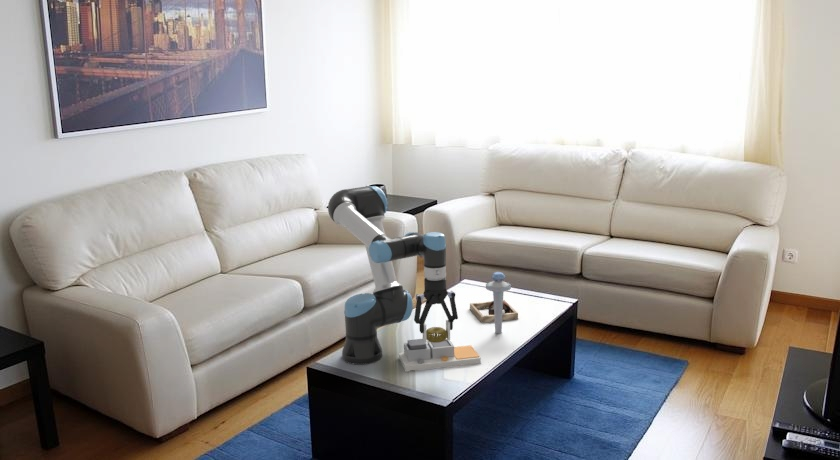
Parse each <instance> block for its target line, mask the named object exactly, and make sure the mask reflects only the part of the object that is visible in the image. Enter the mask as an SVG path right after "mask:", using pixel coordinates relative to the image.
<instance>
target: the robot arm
mask: <svg viewBox="0 0 840 460" xmlns="http://www.w3.org/2000/svg"><path fill="white" fill-rule="evenodd" d="M388 206H389V205H388V200H387V196H386V194H385V192H384V191H383V190H382V189H381V188H380V187H378V186H376V185H372V186H371V185H370V186H367V185H365V186H360V187H355V188H354V187H353V188H347V189H340V190H338V191H336V192H335V193H334V194H333V195H332V196H331V197H330V199H329V201H328V205H327V211H328V215H329V217H330V219H331V220H332V221H333V223H335V224H336V225H338V226H340V227H344V229H346V230H347V231H348V232H349V233H350V234H352V235H353V236H354V237H355V238H357V239H358V240H359V241H360V242H361V243H362V244H364V246H365V250H366V251H365V252H366V255H367V258H368V262H369V267H370V270H371V275H372V279H373V282H374V286H375V288H374V290H373V291H372V293H369V292H365V293H358V294H355V295H352V296H350V297H349V298H348V299H346V301H345V302H344V323H345V324H344V326H345V341H344V343H343V348H342V353H341V355H342V360H343V361H344V362H346V363H348V362H349V364H352V363H354V365H366V364H367V365H368V364H372V363H375V362H378V361H379V360H381V359H382V358H383V348H382V345H381V343H380V341H379V338H378V328H381V327H385V326H389V325H394V324H400V323H401V322H405V321H407V320H408V319H409V318H410V317H411V316H412V312H413V308H414V303H413V297H412V295H411V294H410V292H409V291H408V290H407V289H404V287H403V284H401V283H400V282H398V280H397V275H396V271H395V269H394V264H393V261H396V260H401V259H408V258H413V257H421V258H423V276H424V286H423V287H424V291H423V293H421V294H418V293H417V294H415V299H416V302H415V312H414V318H413V321H414V322H415V324H418V325H419V332H420V334H422V339H423V341H424V343H427V341H428V340H427V335H426V330H427V324H426V321H427V320H426V319H427V317H428V315H429V312H430V310H431V307H432V306H433V305H436V304H437V305H441V307H442V309H443V310H444V313H445V315H446V318H447V319H445V330H446V331H447V338H446V339H448V340H450V341H451V331H452V330H453V328H454V321H455V320H458V319H459V316H458V311H457V306H456V300H455V298H456V292H455V291H454V290H450V291H448V289H447V278H446V277H447V265H446V264H447V253H446V252H447V243H446V236H445V234H444V233H442V232H438V231H432V232H431V231H430V232H426V233H425V234H422V233H420V232H415V231H410V232H409V231H408V232H407V233H406V234H405V235H404V236H398V237H393V238H391V237H389V236H388V235H387V234H386V232H385V228H384V224H383V221H384V220H385V218H386V216H385V214H386V213H387V211H388ZM447 296H448V299H449V303H450V308H451V312H450V310H449V308H448V306H447V304H446V302H445V299H446V298H447ZM424 299H426V301H425V304H424V307H423V310H422V304H423V303H422V302H423V300H424ZM421 311H422V313H421ZM451 313H452V314H451Z"/></svg>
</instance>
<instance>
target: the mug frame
mask: <svg viewBox="0 0 840 460" xmlns="http://www.w3.org/2000/svg"><path fill="white" fill-rule="evenodd" d="M492 301H493V300H492ZM492 301H481V302H474V303H473V302H472V303H469V310H470V309H471V310H470V311H471V312H472V313H473V315H475V317H477V319H478V320H479V321H480V322H481V323H490V322H495V318H494V315H489V314H486V315H483V314H482V313H481V312H480V309H482V310H483V309H488V308H489V307H488V305H489V304H490V303H491V302H492ZM503 301H504V302H506V303H507V304H508V305H509V307H510V309H511V313H502V321H508V320H516V319H517V320H518V319H519V312H518V311H517V310H516V309H514V308H513V307H512V306H511V305H510V304H509V303H508V302H507V301H506V300H505V299H503ZM491 307H492V308H494V304H493V305H492V306H491Z"/></svg>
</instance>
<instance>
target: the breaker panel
mask: <svg viewBox="0 0 840 460" xmlns="http://www.w3.org/2000/svg"><path fill="white" fill-rule="evenodd" d="M444 341H447V343H448V344H449V345H450V346H445V347H436V348H434V347H433V345H432V344H431V342H429V341H428V340H427V343H426V349H417V350H410V349H409V348H408V342H403V352H398V360H400V361H399V362H400V364H401V365H402V368H403V369H404V368H405V369H404V371H405V370H406V371H405V372H411V371H410V370H415V371H421V370H422V369H424V370H431V369H441V368H448V367H458V366H459V367H460V366H468V365H476V364H481V363H482V358H481V357H480V355H479V353H477V351H476V350H475V348H474V347H473V346H472V345H471V344H469V345H461V346H455V345H454V344H453V343H452V342H451V339H450V340H448V339H447V338H446V339H445V340H444ZM420 369H421V370H420Z"/></svg>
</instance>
